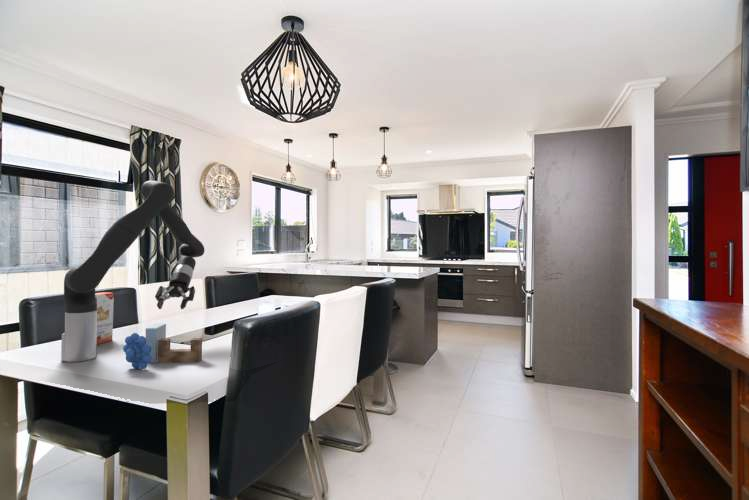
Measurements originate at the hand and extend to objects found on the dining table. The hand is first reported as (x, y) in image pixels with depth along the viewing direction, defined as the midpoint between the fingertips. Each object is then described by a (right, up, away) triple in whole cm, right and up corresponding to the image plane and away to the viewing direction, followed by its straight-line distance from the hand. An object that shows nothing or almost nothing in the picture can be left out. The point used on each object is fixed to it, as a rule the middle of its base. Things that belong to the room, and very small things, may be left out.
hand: (170, 308), depth 154 cm
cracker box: (-35, -16, +6) cm, 39 cm away
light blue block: (+1, -17, -13) cm, 21 cm away
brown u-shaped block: (+12, -17, -15) cm, 26 cm away
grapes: (+2, -17, -26) cm, 31 cm away
